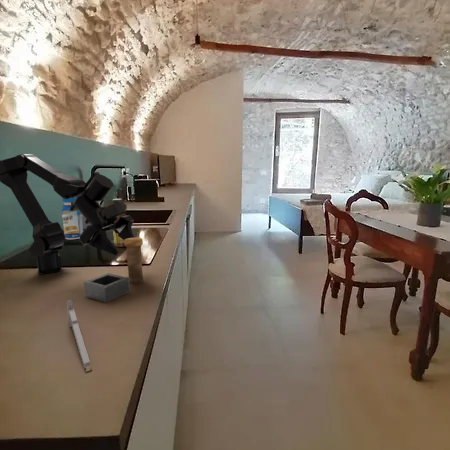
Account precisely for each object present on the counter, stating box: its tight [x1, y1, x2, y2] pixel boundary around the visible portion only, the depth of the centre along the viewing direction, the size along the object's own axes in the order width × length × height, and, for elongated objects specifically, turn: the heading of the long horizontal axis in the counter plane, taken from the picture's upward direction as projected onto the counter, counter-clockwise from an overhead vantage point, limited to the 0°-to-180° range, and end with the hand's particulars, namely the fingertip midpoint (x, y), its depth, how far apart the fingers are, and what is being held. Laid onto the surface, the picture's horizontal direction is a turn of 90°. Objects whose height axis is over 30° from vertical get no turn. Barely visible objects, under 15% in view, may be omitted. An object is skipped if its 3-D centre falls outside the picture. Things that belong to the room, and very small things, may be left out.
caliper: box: [66, 299, 91, 368], centre depth 64 cm, size 20×1×6 cm, turn 33°
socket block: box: [83, 272, 130, 303], centre depth 88 cm, size 8×8×4 cm
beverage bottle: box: [61, 197, 84, 240], centre depth 150 cm, size 8×8×20 cm
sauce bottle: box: [112, 198, 127, 248], centre depth 136 cm, size 7×6×20 cm
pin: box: [124, 237, 144, 285], centre depth 96 cm, size 5×5×13 cm
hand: (127, 249), depth 96 cm, fingers open, 9 cm apart
